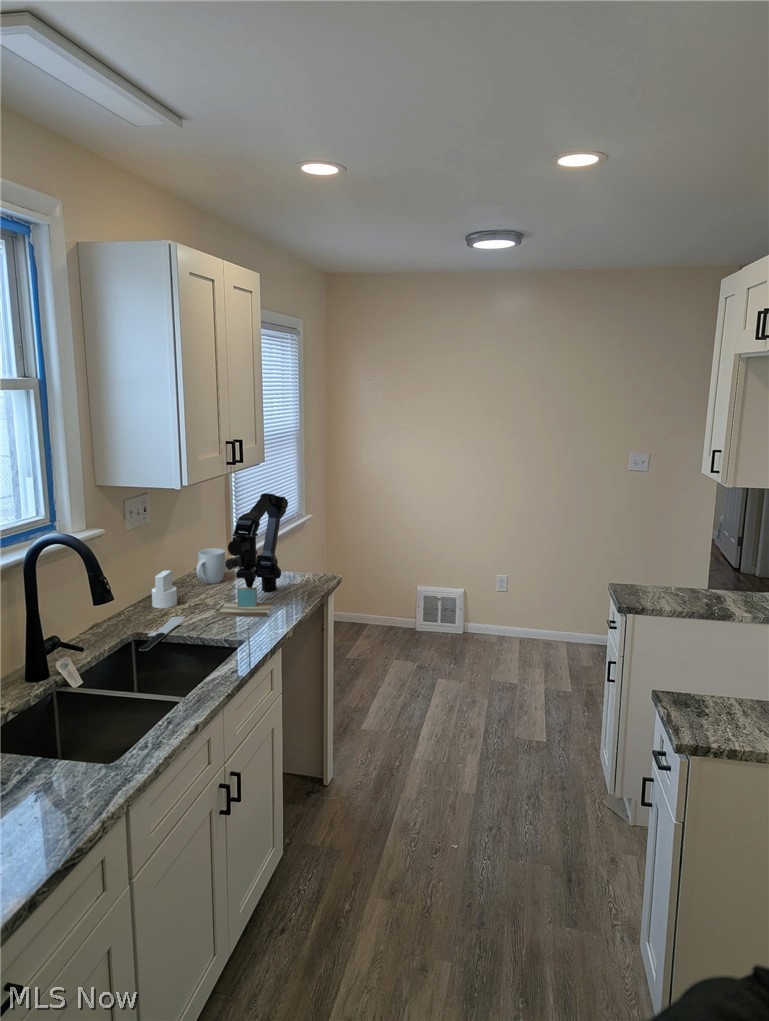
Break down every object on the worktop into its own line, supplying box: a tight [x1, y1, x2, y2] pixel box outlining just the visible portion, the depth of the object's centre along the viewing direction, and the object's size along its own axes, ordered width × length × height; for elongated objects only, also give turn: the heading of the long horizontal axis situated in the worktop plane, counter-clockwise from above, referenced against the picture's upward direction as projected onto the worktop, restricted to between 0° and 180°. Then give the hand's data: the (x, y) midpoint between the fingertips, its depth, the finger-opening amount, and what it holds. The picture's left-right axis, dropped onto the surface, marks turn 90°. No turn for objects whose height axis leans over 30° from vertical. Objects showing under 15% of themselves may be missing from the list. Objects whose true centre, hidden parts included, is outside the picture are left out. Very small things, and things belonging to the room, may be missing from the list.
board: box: [215, 601, 274, 618], centre depth 250 cm, size 16×18×2 cm
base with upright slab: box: [151, 570, 178, 609], centre depth 257 cm, size 9×9×12 cm
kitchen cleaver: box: [138, 616, 186, 652], centre depth 229 cm, size 31×2×10 cm
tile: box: [236, 586, 258, 607], centre depth 253 cm, size 2×7×7 cm, turn 91°
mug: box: [195, 548, 226, 585], centre depth 285 cm, size 15×11×13 cm
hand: (249, 590), depth 258 cm, fingers closed
